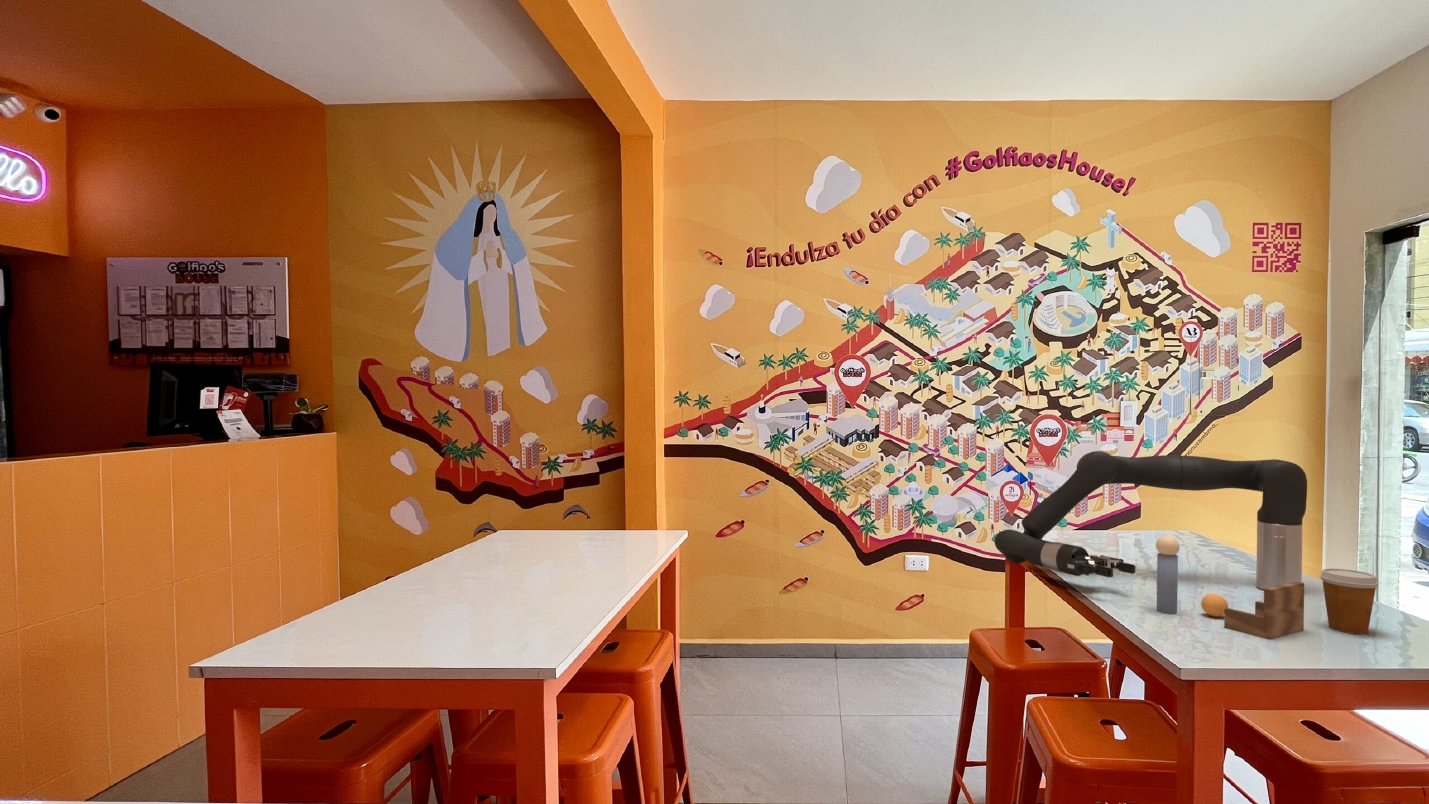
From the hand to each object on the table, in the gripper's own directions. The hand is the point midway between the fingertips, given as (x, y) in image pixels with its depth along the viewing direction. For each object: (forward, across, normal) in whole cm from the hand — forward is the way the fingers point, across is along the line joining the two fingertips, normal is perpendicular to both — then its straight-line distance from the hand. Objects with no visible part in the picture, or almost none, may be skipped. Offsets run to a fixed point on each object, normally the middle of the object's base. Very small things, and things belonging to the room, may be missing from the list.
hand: (1123, 571), depth 176 cm
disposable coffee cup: (+35, +22, +7) cm, 42 cm away
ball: (+18, +6, +4) cm, 19 cm away
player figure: (+10, 0, +7) cm, 13 cm away
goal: (+27, +6, +7) cm, 29 cm away
